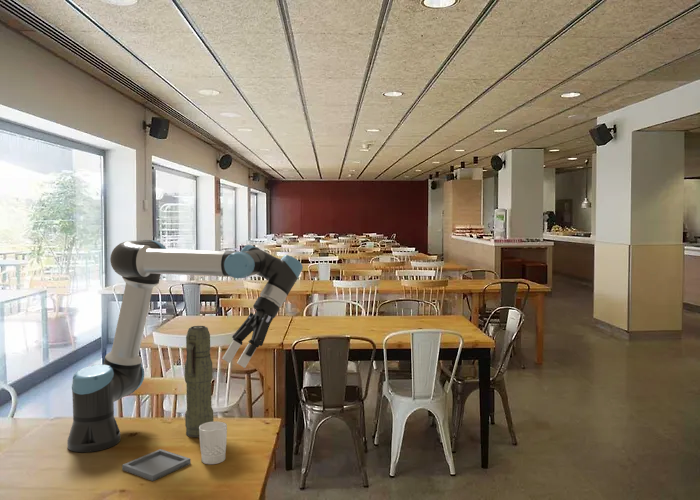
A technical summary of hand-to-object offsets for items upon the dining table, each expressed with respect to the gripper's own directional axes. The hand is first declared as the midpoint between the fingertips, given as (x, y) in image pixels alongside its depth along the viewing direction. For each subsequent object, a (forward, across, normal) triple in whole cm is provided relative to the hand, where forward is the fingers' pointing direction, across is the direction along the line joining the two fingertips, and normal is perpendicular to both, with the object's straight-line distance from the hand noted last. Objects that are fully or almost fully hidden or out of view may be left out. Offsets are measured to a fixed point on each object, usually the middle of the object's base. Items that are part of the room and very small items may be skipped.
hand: (233, 363), depth 166 cm
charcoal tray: (+34, +6, +2) cm, 35 cm away
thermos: (+22, +26, -12) cm, 37 cm away
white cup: (+26, +3, -11) cm, 28 cm away
